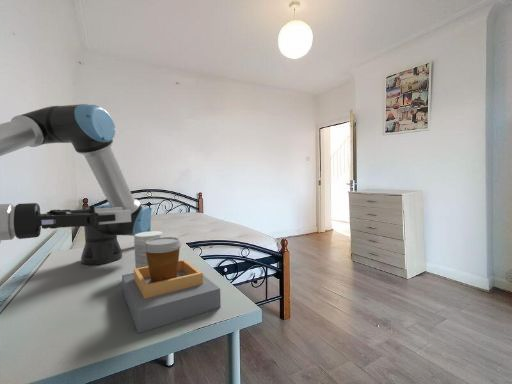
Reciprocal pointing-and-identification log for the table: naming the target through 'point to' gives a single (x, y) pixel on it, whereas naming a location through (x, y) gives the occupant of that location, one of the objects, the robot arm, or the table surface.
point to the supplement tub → (139, 246)
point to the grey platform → (168, 296)
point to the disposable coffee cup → (162, 258)
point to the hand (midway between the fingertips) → (126, 213)
